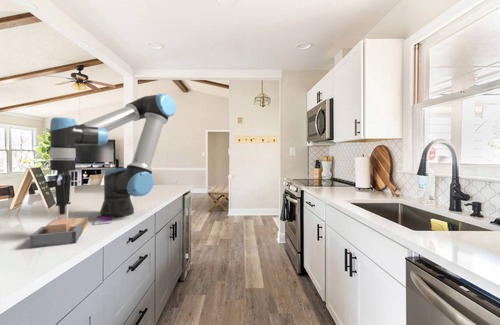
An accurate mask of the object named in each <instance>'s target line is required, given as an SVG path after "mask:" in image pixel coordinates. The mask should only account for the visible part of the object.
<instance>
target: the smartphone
mask: <svg viewBox="0 0 500 325" xmlns="http://www.w3.org/2000/svg"><path fill="white" fill-rule="evenodd" d="M113 219H114V217H104V216H100V215H99V216H96V218H94V221H93V223H92V226H100V225H110V224H113Z"/></svg>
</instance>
